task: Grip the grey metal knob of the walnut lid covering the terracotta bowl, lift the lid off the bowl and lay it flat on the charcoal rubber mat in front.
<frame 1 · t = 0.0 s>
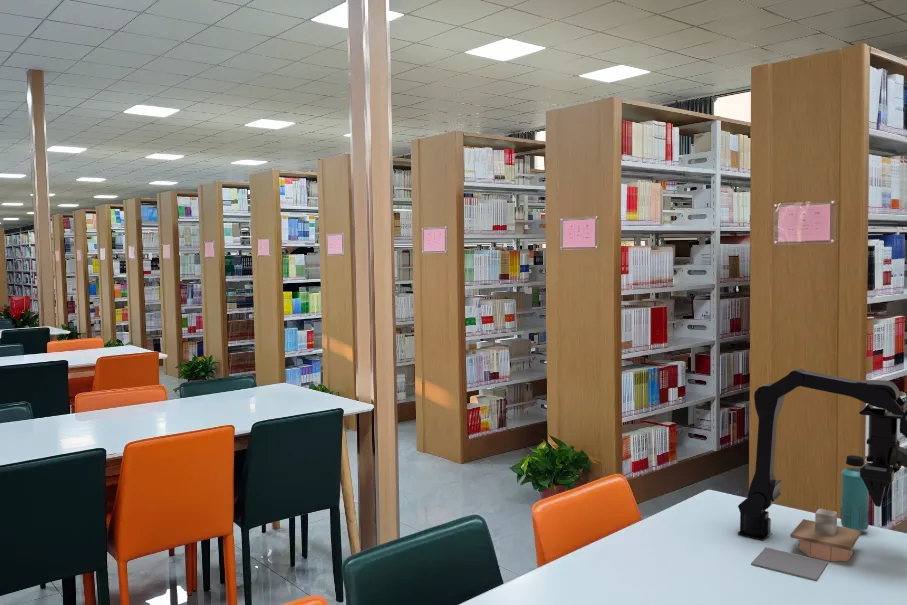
hand: (881, 501, 166), 15 cm above the table, fingers open, 9 cm apart
mat: (789, 564, 166), on the table
lid: (825, 535, 172), point 4 cm above the table, touching bowl
bowl: (825, 551, 173), on the table
beverage bottle: (854, 532, 186), on the table
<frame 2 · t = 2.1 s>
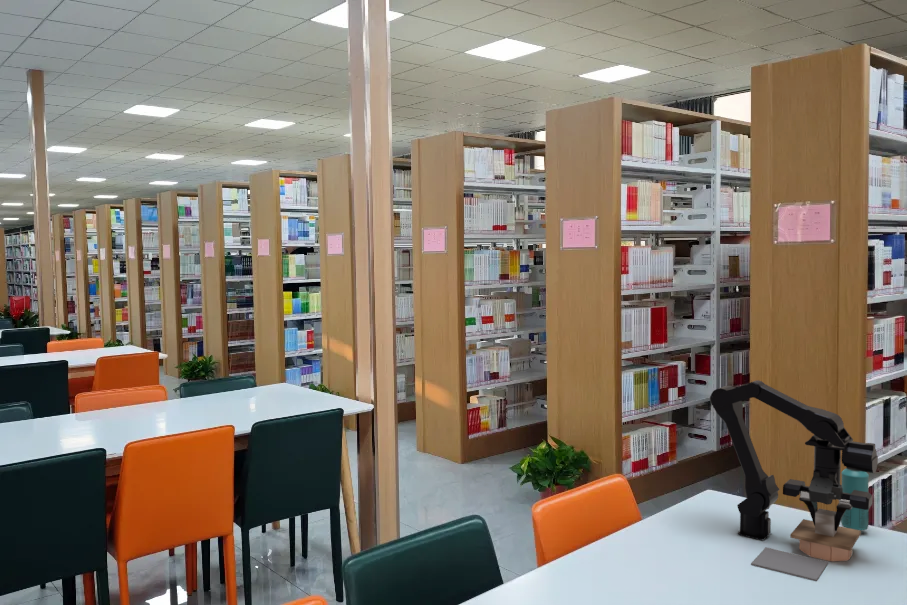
hand: (825, 528, 172), 6 cm above the table, fingers closed on lid, 4 cm apart
lid: (825, 535, 172), point 4 cm above the table, touching bowl, gripper
everything else where it was.
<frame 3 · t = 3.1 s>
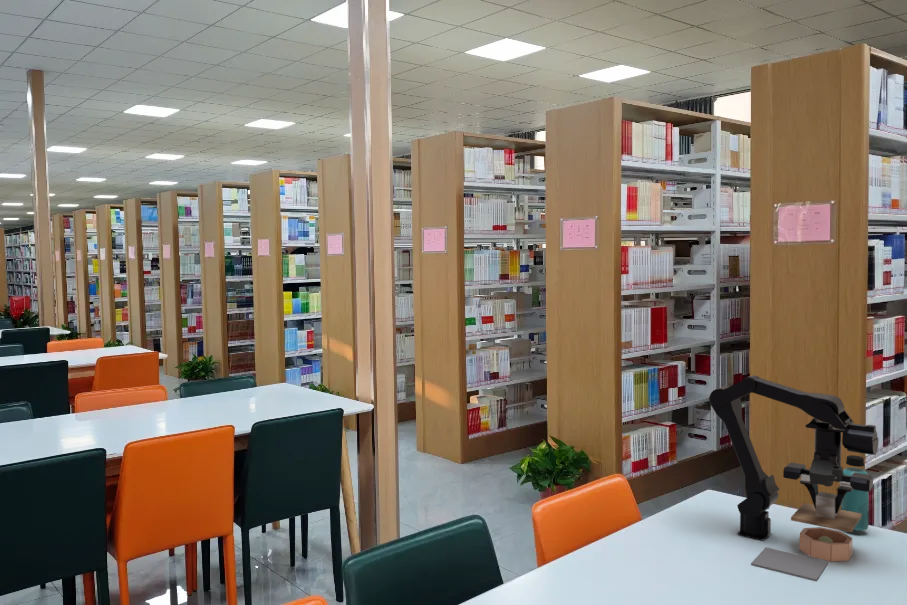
hand: (826, 511, 172), 10 cm above the table, fingers closed on lid, 4 cm apart
lid: (826, 518, 172), point 8 cm above the table, touching gripper
everything else where it was.
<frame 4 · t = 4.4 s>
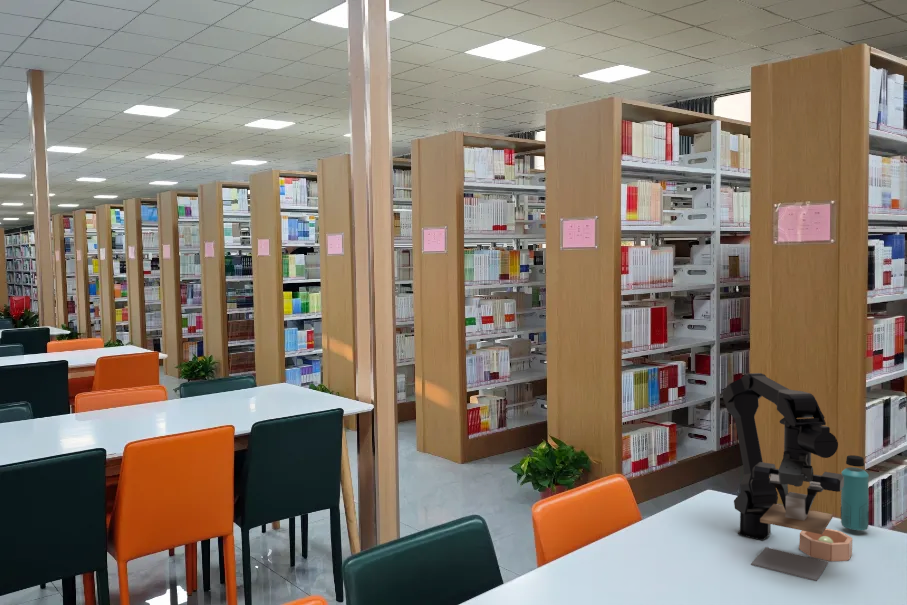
hand: (796, 512, 166), 12 cm above the table, fingers closed on lid, 4 cm apart
lid: (796, 519, 166), point 10 cm above the table, touching gripper
everything else where it was.
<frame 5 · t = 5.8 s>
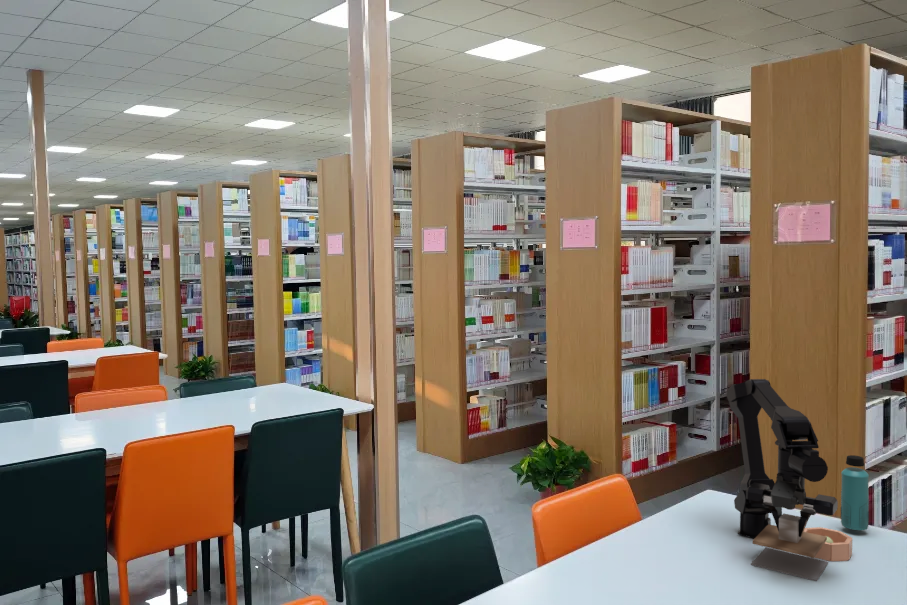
hand: (790, 534, 165), 7 cm above the table, fingers closed on lid, 4 cm apart
lid: (789, 541, 166), point 5 cm above the table, touching gripper
everything else where it was.
when the fingers open (4 cm above the table, at t = 6.9 s): lid drops 1 cm, resting on mat.
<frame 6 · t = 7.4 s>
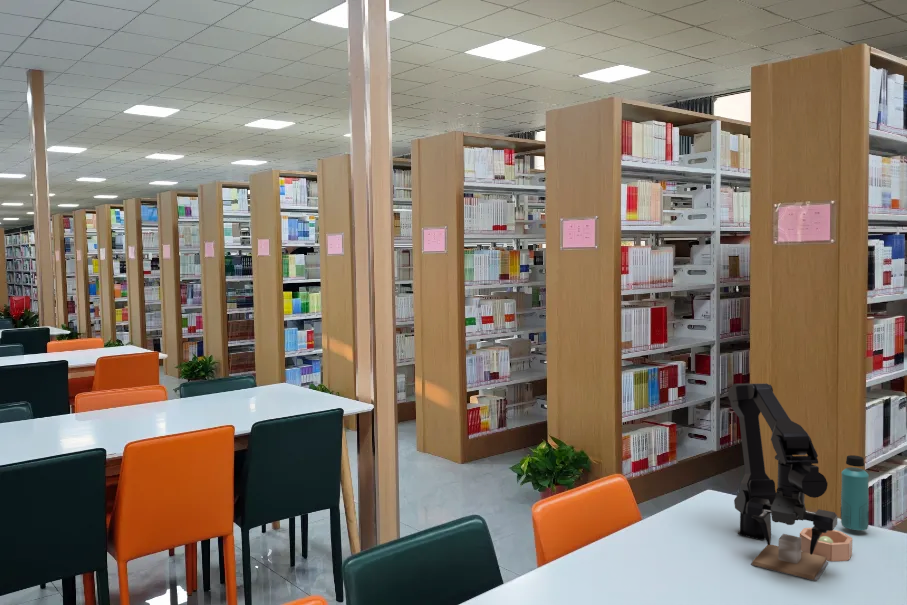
hand: (789, 549, 166), 4 cm above the table, fingers open, 9 cm apart
lid: (789, 562, 166), resting on mat
everything else where it was.
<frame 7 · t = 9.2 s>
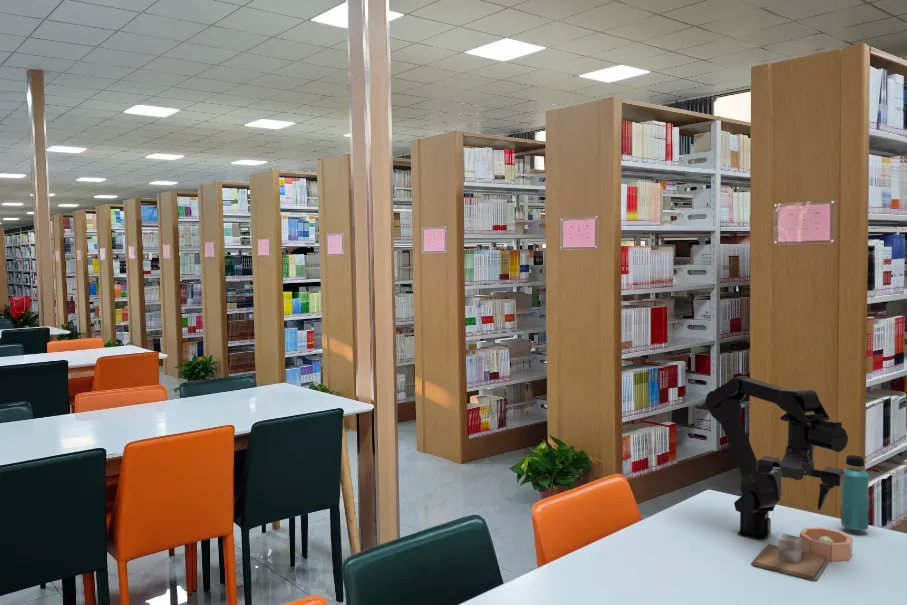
hand: (798, 505, 172), 12 cm above the table, fingers open, 9 cm apart
nothing on the table moved.
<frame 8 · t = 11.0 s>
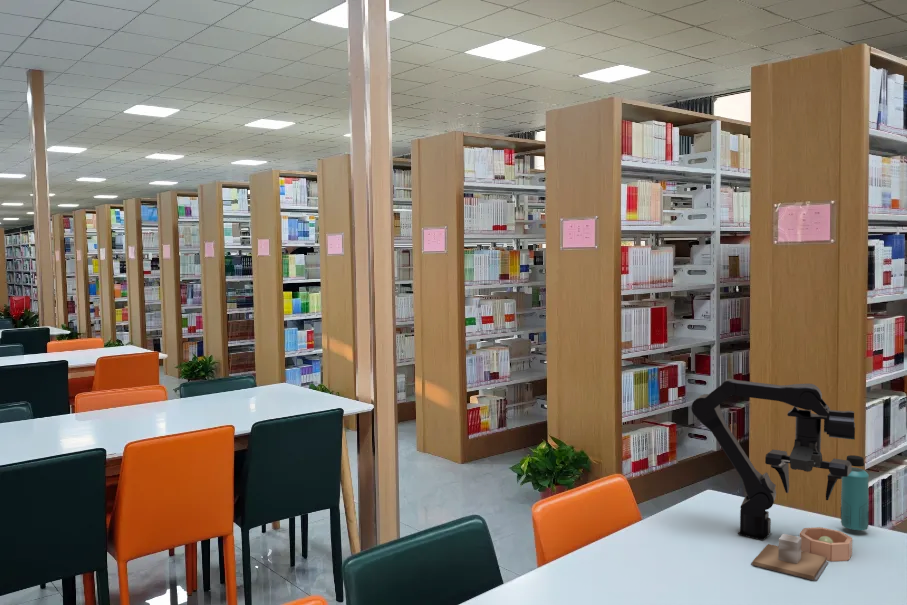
hand: (806, 496, 178), 12 cm above the table, fingers open, 9 cm apart
nothing on the table moved.
at the end: lid inside the target area on the mat (0.0 cm from its centre), point 0.4 cm above the mat's base; lid touching mat; the gripper is holding nothing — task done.
